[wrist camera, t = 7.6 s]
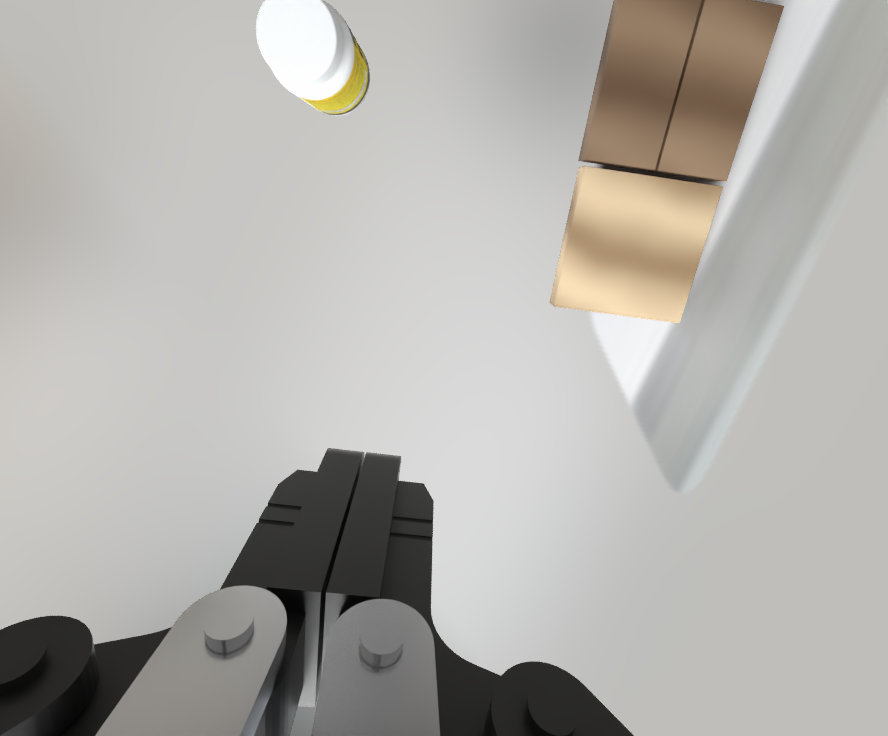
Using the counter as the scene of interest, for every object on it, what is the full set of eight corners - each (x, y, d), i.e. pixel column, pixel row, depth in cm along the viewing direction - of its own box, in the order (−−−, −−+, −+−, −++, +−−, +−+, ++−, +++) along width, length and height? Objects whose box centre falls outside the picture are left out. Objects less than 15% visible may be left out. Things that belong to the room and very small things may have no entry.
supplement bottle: (383, 63, 30) (363, 18, 22) (349, 131, 31) (318, 112, 24) (317, 15, 29) (272, -50, 21) (285, 88, 30) (231, 52, 23)
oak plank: (578, 167, 32) (585, 165, 31) (710, 187, 33) (722, 186, 31) (549, 302, 35) (554, 306, 34) (670, 318, 36) (679, 323, 34)
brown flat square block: (616, -11, 29) (625, -22, 27) (766, 15, 29) (784, 6, 28) (578, 160, 32) (585, 159, 31) (713, 181, 33) (726, 180, 31)
